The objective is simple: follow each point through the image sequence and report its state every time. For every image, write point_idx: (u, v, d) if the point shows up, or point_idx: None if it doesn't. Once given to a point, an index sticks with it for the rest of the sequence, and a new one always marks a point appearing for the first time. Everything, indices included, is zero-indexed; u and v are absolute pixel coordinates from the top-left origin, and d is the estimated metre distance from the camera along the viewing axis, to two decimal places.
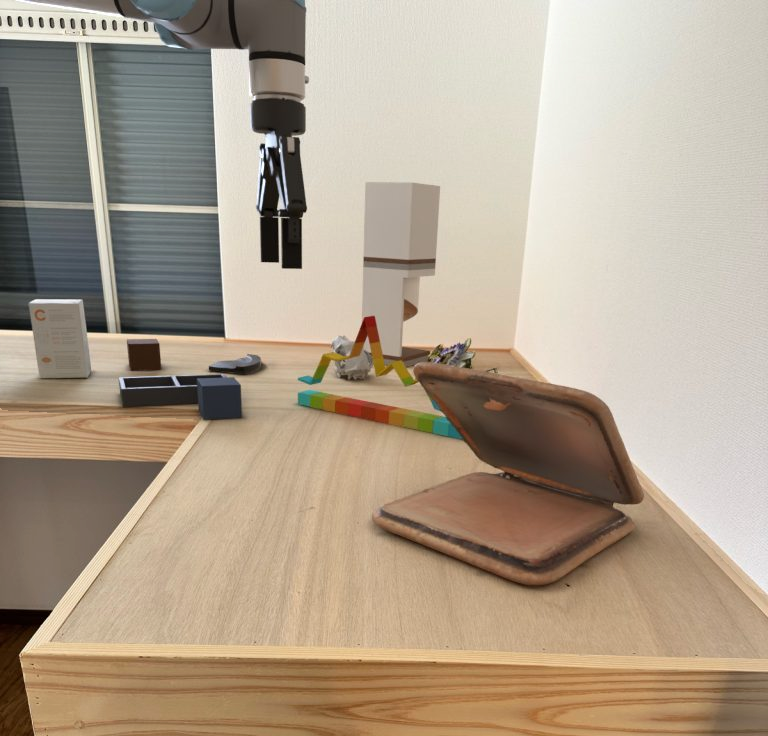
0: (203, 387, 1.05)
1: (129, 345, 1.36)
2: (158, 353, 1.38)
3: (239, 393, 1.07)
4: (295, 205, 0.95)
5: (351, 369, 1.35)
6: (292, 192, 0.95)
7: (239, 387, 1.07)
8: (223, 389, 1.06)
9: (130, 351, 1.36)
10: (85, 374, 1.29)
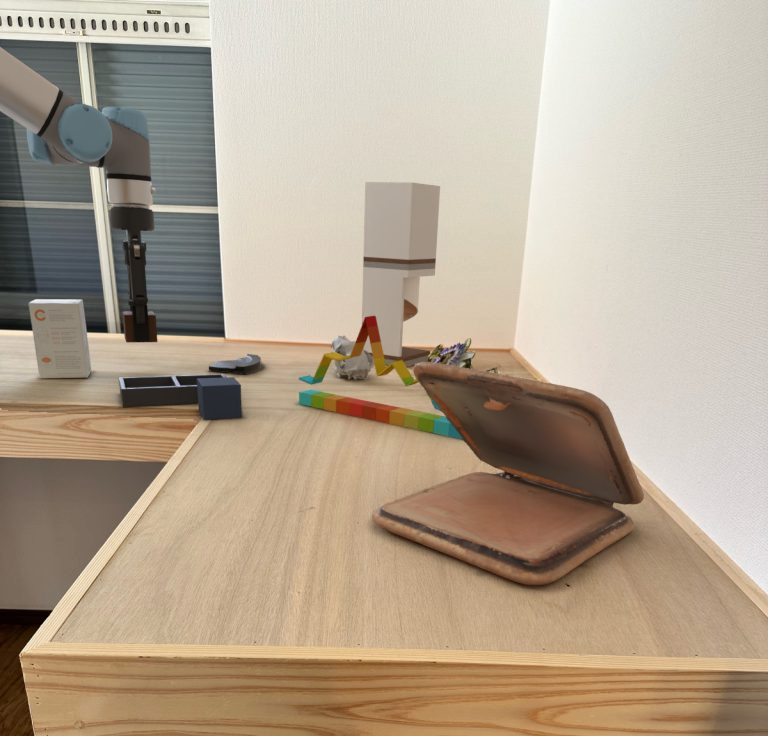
0: (203, 387, 1.05)
1: (125, 316, 1.34)
2: (154, 325, 1.36)
3: (239, 393, 1.07)
4: (138, 298, 1.30)
5: (351, 369, 1.35)
6: (136, 289, 1.29)
7: (239, 387, 1.07)
8: (223, 389, 1.06)
9: (126, 322, 1.34)
10: (85, 374, 1.29)
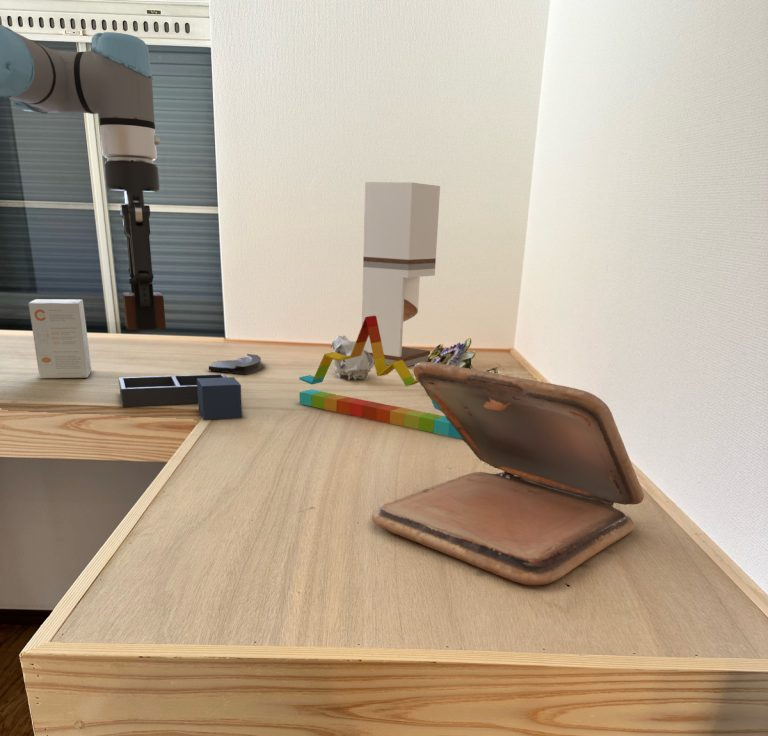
0: (203, 387, 1.05)
1: (126, 298, 1.09)
2: (162, 308, 1.11)
3: (239, 393, 1.07)
4: (141, 274, 1.05)
5: (351, 369, 1.35)
6: (139, 263, 1.04)
7: (239, 387, 1.07)
8: (223, 389, 1.06)
9: (127, 305, 1.09)
10: (85, 374, 1.29)
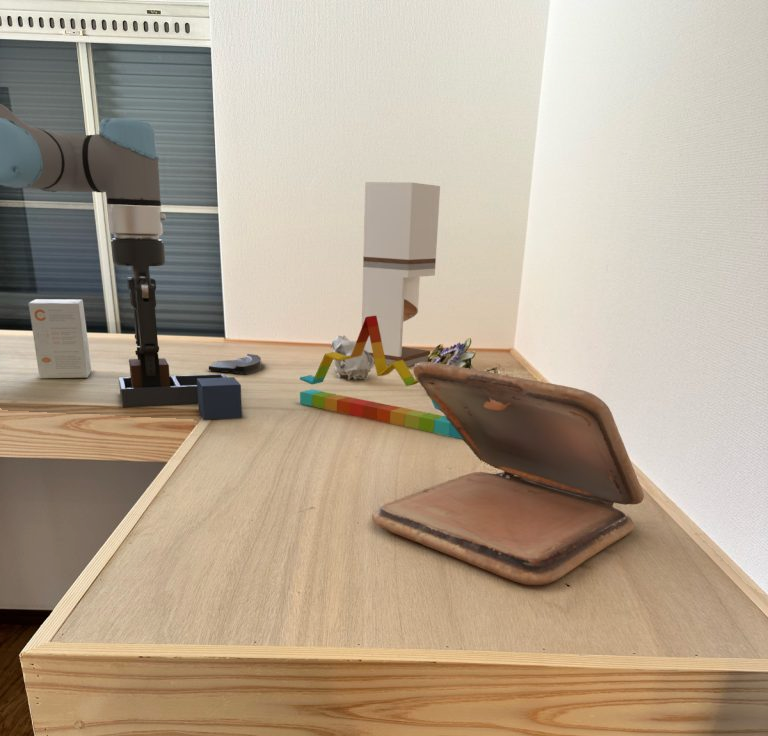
0: (203, 387, 1.05)
1: (132, 367, 1.12)
2: (167, 376, 1.14)
3: (239, 393, 1.07)
4: (147, 347, 1.08)
5: (351, 369, 1.35)
6: (145, 337, 1.07)
7: (239, 387, 1.07)
8: (223, 389, 1.06)
9: (133, 374, 1.12)
10: (85, 374, 1.29)
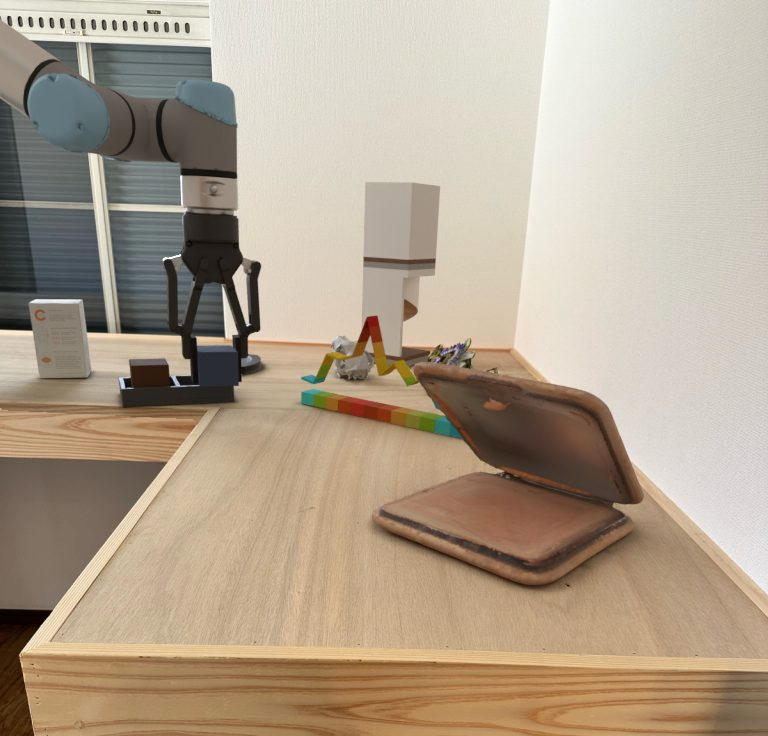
0: (199, 353, 1.03)
1: (132, 367, 1.12)
2: (167, 376, 1.14)
3: (236, 360, 1.05)
4: (168, 325, 1.03)
5: (351, 369, 1.35)
6: (167, 314, 1.03)
7: (236, 354, 1.05)
8: (220, 356, 1.04)
9: (133, 374, 1.12)
10: (85, 374, 1.29)
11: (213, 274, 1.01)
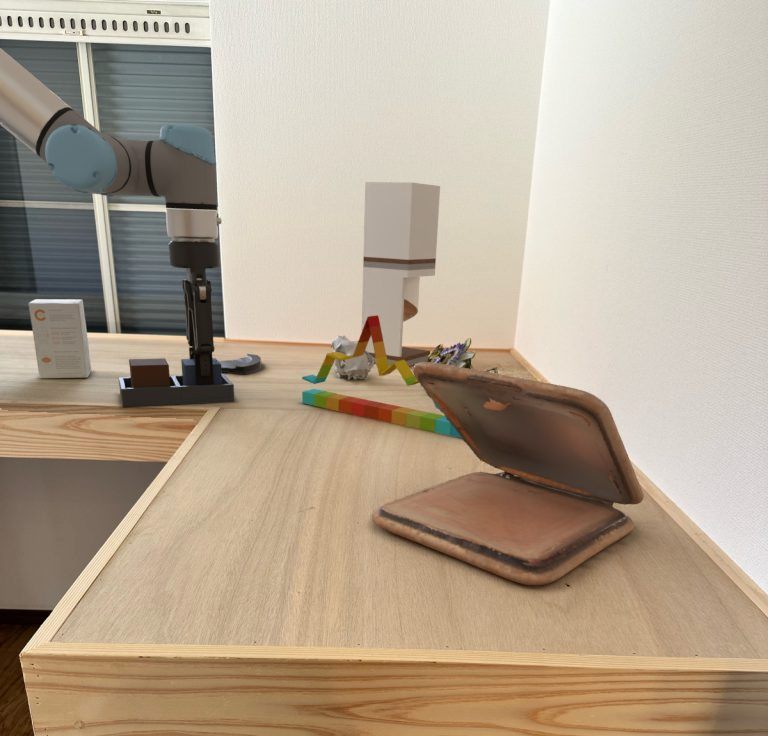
0: None
1: (132, 367, 1.12)
2: (167, 376, 1.14)
3: None
4: (203, 347, 1.11)
5: (351, 369, 1.35)
6: (202, 337, 1.10)
7: None
8: None
9: (133, 374, 1.12)
10: (85, 374, 1.29)
11: None
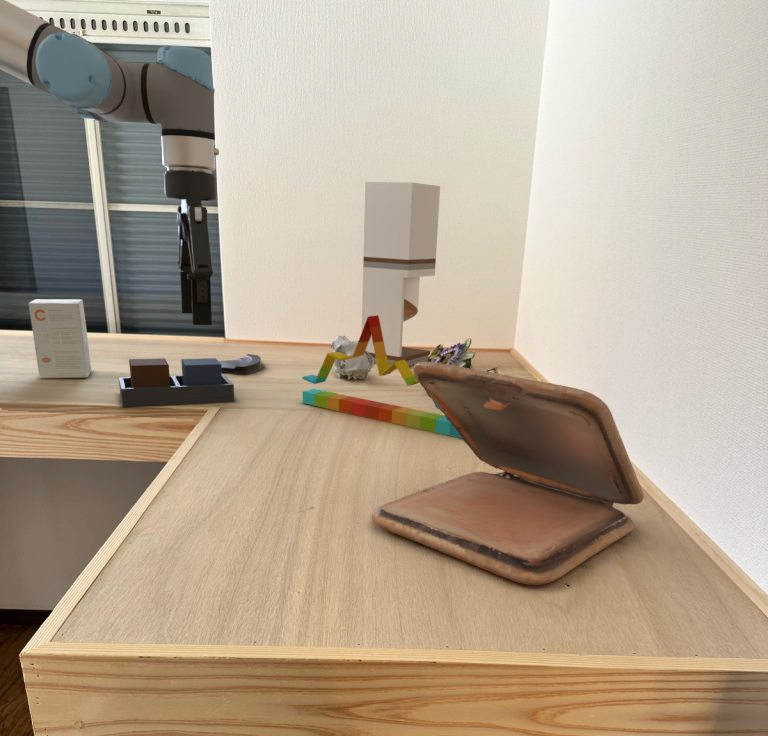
0: None
1: (132, 367, 1.12)
2: (167, 376, 1.14)
3: None
4: (201, 270, 1.04)
5: (351, 369, 1.35)
6: (198, 258, 1.03)
7: None
8: None
9: (133, 374, 1.12)
10: (85, 374, 1.29)
11: None
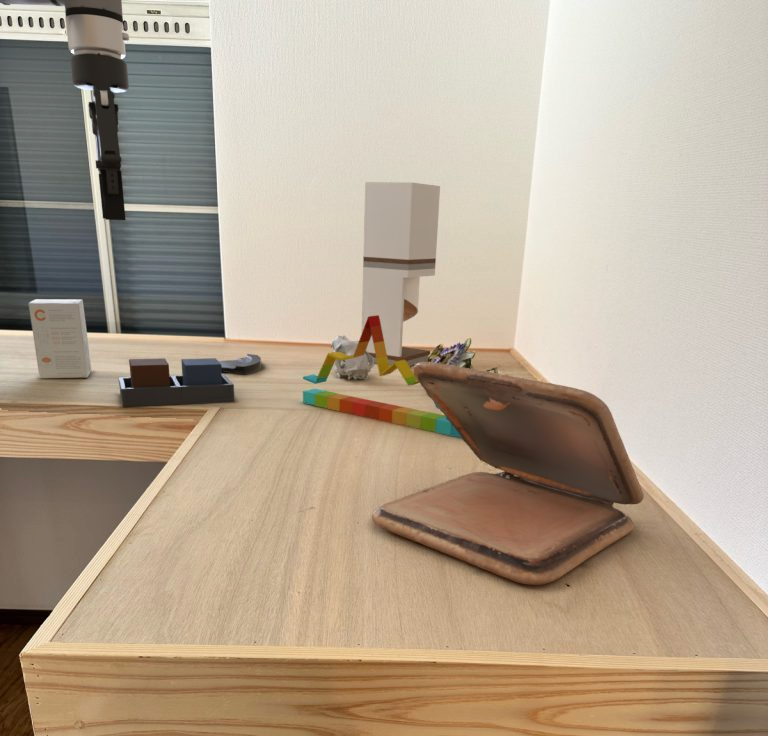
0: None
1: (132, 367, 1.12)
2: (167, 376, 1.14)
3: None
4: (108, 156, 0.99)
5: (351, 369, 1.35)
6: (105, 143, 0.99)
7: None
8: None
9: (133, 374, 1.12)
10: (85, 374, 1.29)
11: None
